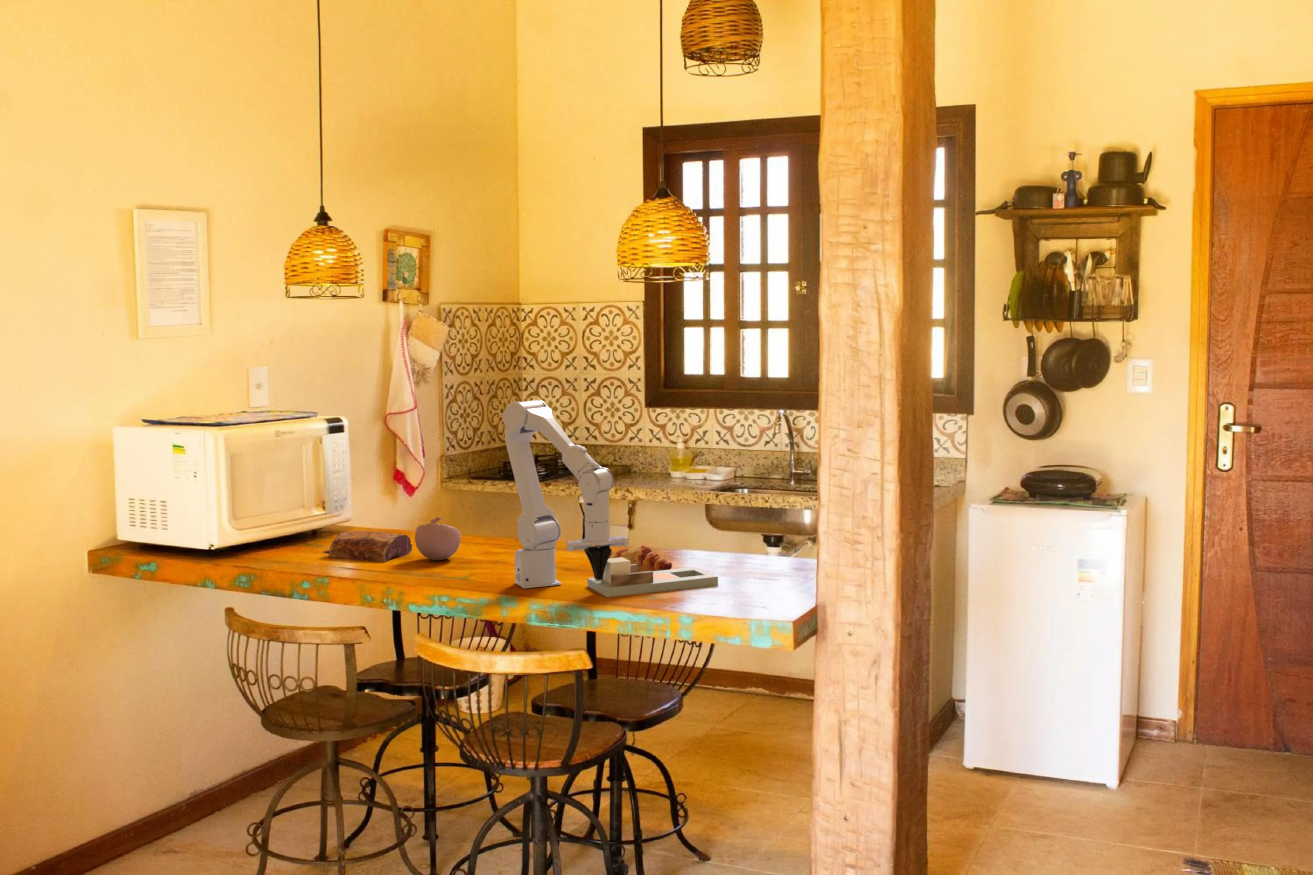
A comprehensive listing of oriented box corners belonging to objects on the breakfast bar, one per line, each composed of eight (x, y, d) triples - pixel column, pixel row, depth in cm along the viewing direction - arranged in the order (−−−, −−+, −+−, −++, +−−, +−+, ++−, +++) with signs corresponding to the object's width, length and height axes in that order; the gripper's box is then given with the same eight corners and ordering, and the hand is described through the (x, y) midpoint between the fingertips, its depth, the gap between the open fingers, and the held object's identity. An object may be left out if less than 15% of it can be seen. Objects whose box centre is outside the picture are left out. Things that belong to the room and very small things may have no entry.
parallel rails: (613, 586, 292) (612, 575, 292) (597, 578, 302) (596, 567, 302) (653, 582, 296) (653, 571, 296) (636, 574, 306) (636, 563, 306)
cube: (610, 584, 295) (610, 562, 295) (603, 580, 300) (602, 559, 299) (630, 582, 297) (630, 560, 296) (623, 578, 302) (622, 557, 301)
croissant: (598, 581, 325) (588, 556, 321) (620, 557, 331) (609, 533, 328) (666, 589, 312) (655, 563, 308) (686, 564, 319) (676, 538, 315)
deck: (606, 597, 291) (606, 588, 290) (587, 586, 303) (587, 578, 302) (718, 584, 301) (717, 576, 301) (695, 574, 313) (695, 566, 313)
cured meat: (345, 546, 363) (343, 522, 362) (421, 550, 354) (420, 526, 353) (306, 559, 347) (304, 534, 346) (385, 564, 338) (383, 539, 337)
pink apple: (466, 555, 345) (465, 513, 343) (455, 564, 333) (453, 520, 332) (422, 555, 346) (421, 513, 345) (410, 564, 334) (408, 521, 333)
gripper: (573, 525, 289) (574, 585, 290) (632, 520, 294) (633, 578, 296) (563, 521, 295) (564, 579, 296) (621, 516, 301) (622, 573, 302)
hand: (598, 578), depth 296 cm, fingers closed
